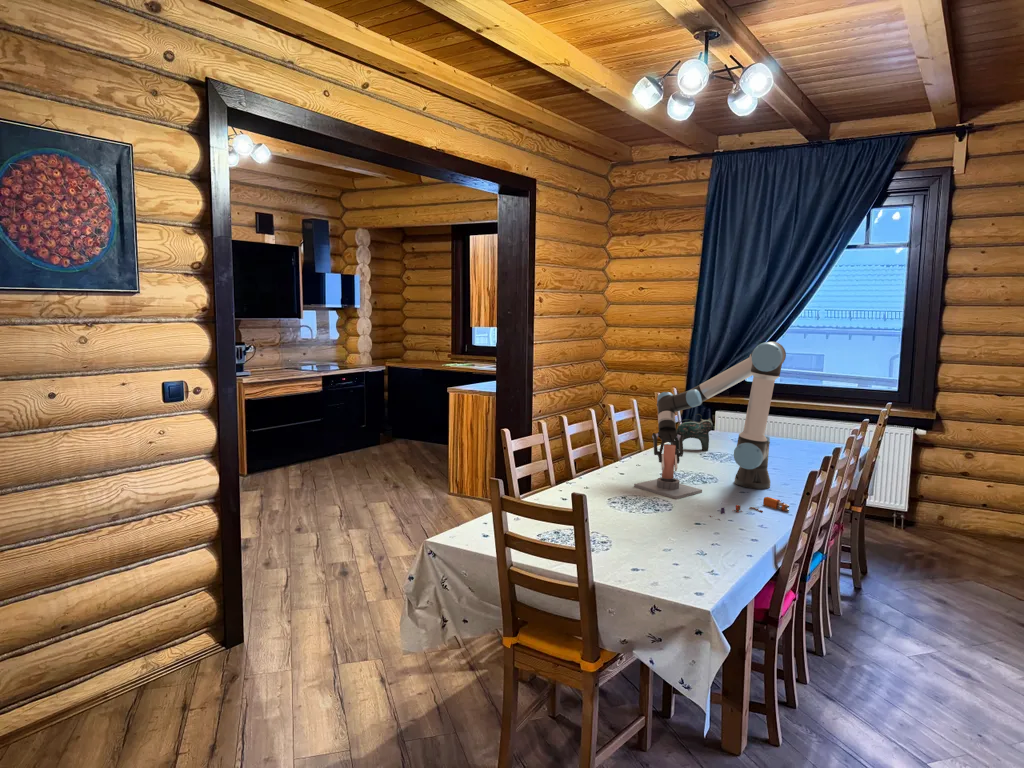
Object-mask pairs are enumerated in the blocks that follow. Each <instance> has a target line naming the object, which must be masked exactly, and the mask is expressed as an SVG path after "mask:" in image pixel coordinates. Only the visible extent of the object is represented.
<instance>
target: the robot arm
mask: <svg viewBox="0 0 1024 768" xmlns="http://www.w3.org/2000/svg"><path fill="white" fill-rule="evenodd" d="M786 358H787V354H786V349H785V347H784V346H783V345H782V344H780V343H779V342H777V341H765V342H762V343H759V344H758V345H757V346H756V347H754V349H753V350H752V352H751V353H750V354H749V357H747V358H746V359H744V360H742V361H740V362H738V363H736V364H735V365H733V366H731V367H729V368H728V369H726V370H724V371H721V372H720V373H718V374H717V375H715V376H713V377H711V378H710V379H708V380H706V381H704V382H702V383H699V385H697V386H694V387H693V388H691V389H689V390H687V391H683V392H681V393H677V394H673V393H672V392H669V391H663V392H661V393H659V394H658V395H657V401H656V402H657V403H656V408H657V423H658V432H657V433H654V432H653V433H652V435H651V438H652V441H653V454H654V455H653V456H657V458H658V463H660V467H661V471H662V470H664V454H663V451H664V445H665V443H668V444H671V445H675V446H676V443H675V439H676V437H677V438H678V440H679V449H677V446H676V448H675V461H674V472H678V464H679V463H680V457H681V458H682V457H683V455H684V443H683V442H684V441H683V435H678V434H677V432H676V430H677V424H676V412H680V411H683V410H688V409H692V408H696V407H698V406H701V405H702V403H703V402H705V401H707V400H709V399H710V398H712V397H714V396H716V395H718V394H720V393H722V392H724V391H726V390H727V389H729V388H732V387H733V386H735V385H737V384H738V383H741V382H742V381H743V382H744V380H746V379H748V378H751V377H753V378H752V383H751V388H750V394H749V399H748V404H747V410H746V415H745V421H744V425H743V431H742V432H740V433H739V434H738V438H737V442H736V447H735V448H734V450H733V458H734V461H735V463H736V464H737V465H738V466H739V467H738V470H737V472H736V474H735V476H734V484H736V485H737V486H740V487H743V488H748V489H755V490H757V489H758V490H763V489H765V490H766V489H769V488H770V487H771V478H770V475H769V471H768V465H769V455H770V453H769V452H770V444H771V441H770V440H771V439H770V436H769V435H766V434H765V433H766V429H767V422H768V418H769V413H770V407H771V402H772V397H773V392H774V387H775V382H776V380H777V379H778V378H779V377H780V376H781V371H782V365H783V363H784V362H785V360H786ZM658 438H659V439H660V440H661V442H660V447H659V450H658Z"/></svg>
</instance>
